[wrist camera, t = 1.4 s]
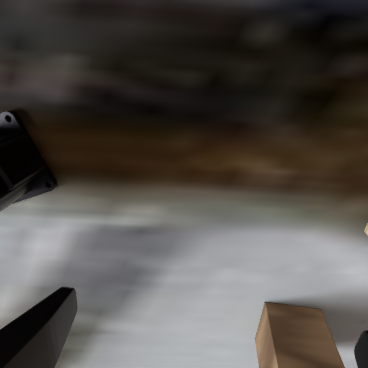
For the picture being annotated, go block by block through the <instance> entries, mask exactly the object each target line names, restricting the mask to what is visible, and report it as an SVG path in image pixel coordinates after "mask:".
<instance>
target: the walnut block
mask: <svg viewBox="0 0 368 368" xmlns="http://www.w3.org/2000/svg"><path fill="white" fill-rule="evenodd" d="M255 341H256V349H257V356H258V363H259V368H345V367H344V364H343V362H342V360H341V357H340V355H339V352H338V350H337V347H336V345H335V343H334V340H333V338H332V335H331V333H330V330H329V328H328V326H327V323H326V321H325V318H324V316H323V314H322V311H321V310H320V309H313V308H305V307H298V306H291V305H283V304H276V303H269V302H265V304H264V308H263V312H262V315H261V319H260V322H259V326H258V330H257V333H256V337H255Z"/></svg>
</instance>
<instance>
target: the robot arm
mask: <svg viewBox="0 0 368 368" xmlns="http://www.w3.org/2000/svg"><path fill="white" fill-rule="evenodd" d="M9 116H10V117H11V119H12V121H11V120H10V119H9ZM48 182H49V183H51V185H52V186H51V185H49V184H48ZM56 186H57V182H56V180H55V178H54V177H53V175H52V173H51V171H50V170H49V168H48V166H47V165H46V163H45V161H44V159H43V158H42V156H41V154H40V153H39V151H38V149H37V147H36V146H35V144H34V142H33V141H32V139H31V137H30V136H29V134H28V133H27V131H26V129H25V127H24V126H23V124H22V122H21V121H20V119H19V117H18V116H17V114H16V113H15V112H13V111H6V112H3V113H1V114H0V212H1V211H2V210H4V209H5V208H6V207H8V206H9V205H10V204H12V203H15V202H18V201H21V200H24V199H27V198H30V197H33V196H36V195H39V194H42V193H45V192H48V191H51V190H53V189H54V188H56ZM76 313H77V298H76V291H75V289H74V288H70V287H61V288H59V289H58V290H56V291H55V292H53V293H52V294H51V295H49V296H48V297H46V298H45V299H43V300H42V301H41V302H39V303H38V304H36V305H35V306H33V307H32V308H31V309H29V310H28V311H26V312H25V313H23V314H22V315H21V316H19V317H18V318H16V319H15V320H13V321H12V322H11V323H9V324H8V325H6V326H5V327H4V328H2V329H1V330H0V368H55V365H56V363H57V361H58V359H59V356H60V354H61V351H62V349H63V346H64V344H65V341H66V338H67V336H68V333H69V331H70V328H71V326H72V323H73V321H74V318H75V315H76ZM354 354H355V359H356V362H357V366H358V368H368V330H365V331H363V332H362V334H361V336H360V338H359V340H358V342H357V344H356V346H355V349H354Z"/></svg>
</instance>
